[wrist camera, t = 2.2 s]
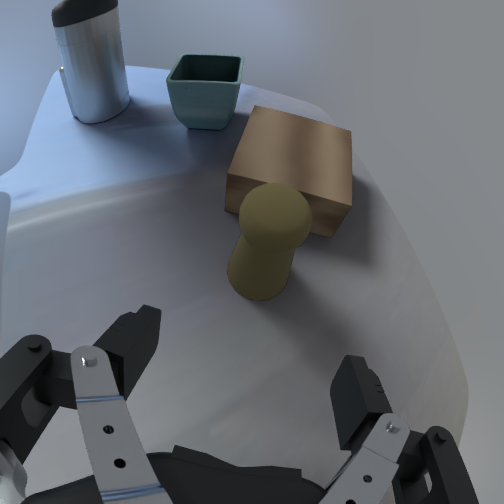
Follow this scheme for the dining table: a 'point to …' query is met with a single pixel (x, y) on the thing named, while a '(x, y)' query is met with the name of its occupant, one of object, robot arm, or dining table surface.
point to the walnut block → (294, 164)
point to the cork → (268, 240)
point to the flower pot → (205, 89)
